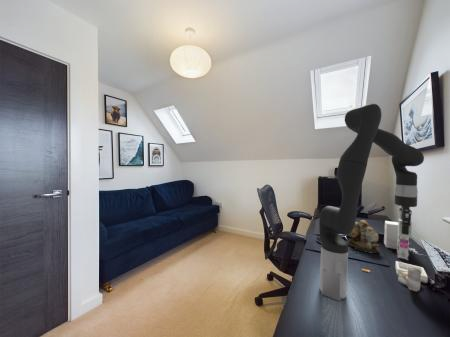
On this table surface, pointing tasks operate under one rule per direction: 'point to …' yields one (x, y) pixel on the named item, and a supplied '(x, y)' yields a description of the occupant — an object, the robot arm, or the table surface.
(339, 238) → the robot arm
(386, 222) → the supplement box
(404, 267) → the tray
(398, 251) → the candy bar box
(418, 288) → the crank arm
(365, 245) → the owl figurine
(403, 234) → the stop block
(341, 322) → the table surface
